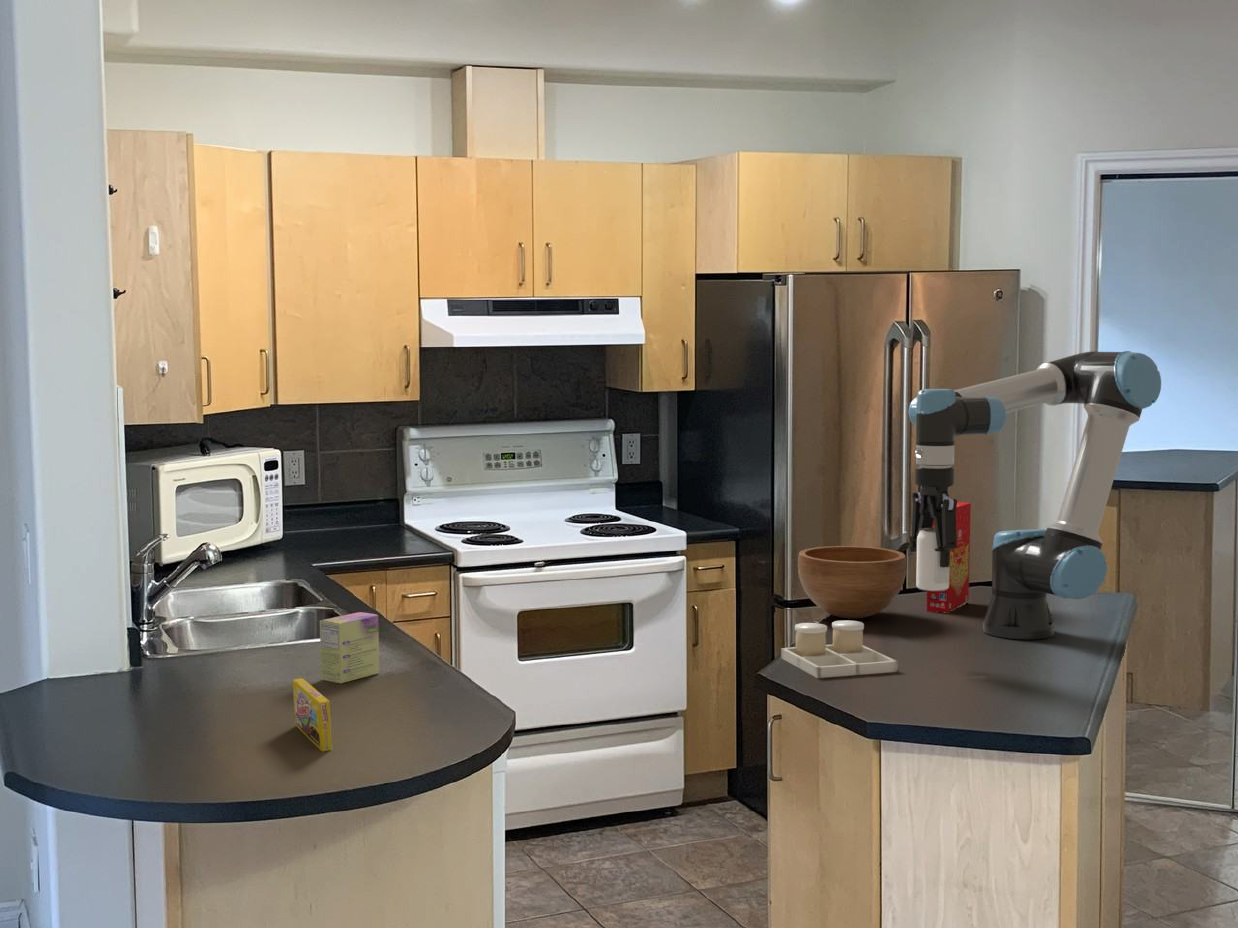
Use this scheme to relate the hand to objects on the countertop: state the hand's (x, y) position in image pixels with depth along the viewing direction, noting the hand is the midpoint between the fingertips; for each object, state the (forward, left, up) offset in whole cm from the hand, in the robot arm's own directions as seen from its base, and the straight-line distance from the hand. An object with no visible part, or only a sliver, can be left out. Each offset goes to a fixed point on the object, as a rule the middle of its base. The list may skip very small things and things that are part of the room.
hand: (932, 579), depth 274 cm
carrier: (+20, -1, -17) cm, 26 cm away
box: (+114, -22, -17) cm, 117 cm away
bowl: (-4, -44, -17) cm, 47 cm away
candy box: (+124, +17, -17) cm, 126 cm away
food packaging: (-32, -48, -17) cm, 60 cm away
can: (0, 0, -2) cm, 2 cm away
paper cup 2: (+16, -6, -16) cm, 24 cm away
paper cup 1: (+24, -6, -16) cm, 30 cm away
